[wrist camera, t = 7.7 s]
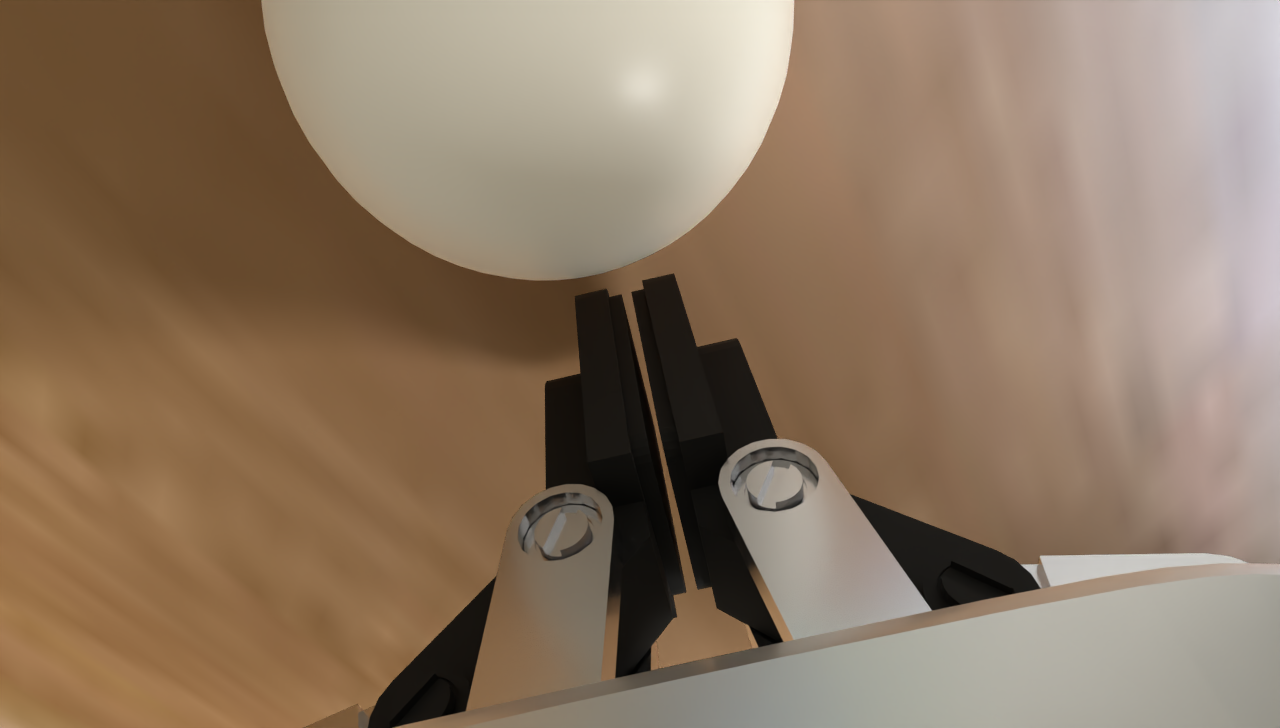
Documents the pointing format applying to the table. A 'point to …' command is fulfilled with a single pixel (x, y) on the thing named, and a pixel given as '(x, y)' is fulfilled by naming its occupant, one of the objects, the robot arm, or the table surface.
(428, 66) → the cue ball
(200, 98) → the table surface
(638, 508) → the robot arm
